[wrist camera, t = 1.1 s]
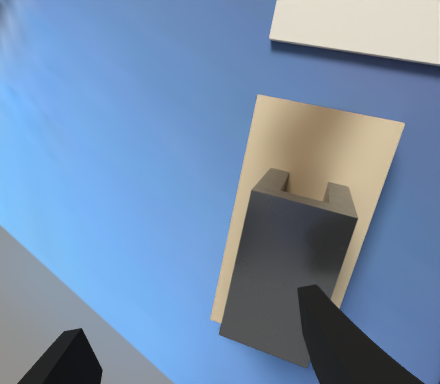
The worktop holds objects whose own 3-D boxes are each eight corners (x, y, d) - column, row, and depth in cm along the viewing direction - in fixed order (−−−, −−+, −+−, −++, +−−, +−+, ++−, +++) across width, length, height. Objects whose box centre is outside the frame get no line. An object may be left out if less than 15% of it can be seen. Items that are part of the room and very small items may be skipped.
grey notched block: (348, 186, 16) (358, 218, 12) (311, 302, 18) (306, 368, 14) (270, 167, 17) (251, 189, 13) (243, 280, 19) (218, 334, 15)
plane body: (392, 120, 18) (420, 126, 13) (321, 328, 22) (320, 395, 17) (267, 96, 19) (247, 92, 14) (223, 294, 24) (196, 346, 18)
